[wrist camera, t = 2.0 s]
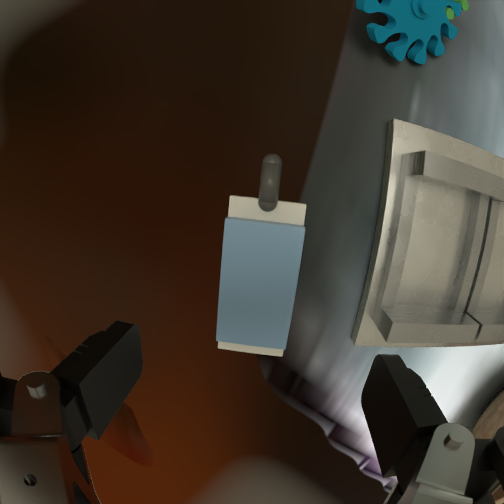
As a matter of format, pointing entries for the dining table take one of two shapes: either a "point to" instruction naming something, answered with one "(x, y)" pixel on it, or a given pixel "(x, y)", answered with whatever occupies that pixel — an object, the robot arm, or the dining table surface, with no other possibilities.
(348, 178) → the dining table surface
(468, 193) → the plate
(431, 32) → the gear
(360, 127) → the dining table surface
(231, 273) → the block
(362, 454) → the dining table surface
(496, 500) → the cooking pot
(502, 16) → the dining table surface
